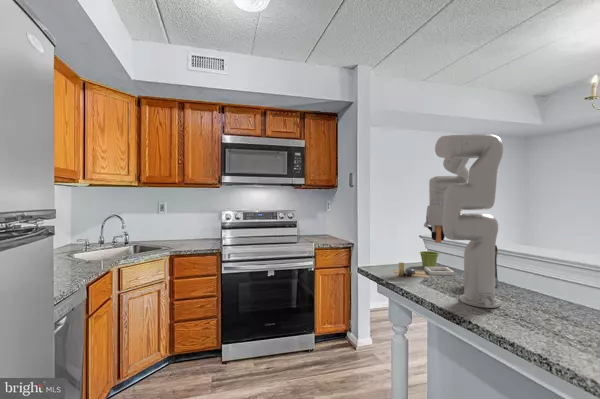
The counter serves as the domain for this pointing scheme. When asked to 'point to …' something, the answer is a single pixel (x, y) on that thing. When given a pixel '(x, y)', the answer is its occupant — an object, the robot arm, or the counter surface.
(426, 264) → the plant pot
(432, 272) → the tray
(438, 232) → the pin
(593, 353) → the counter surface
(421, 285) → the counter surface
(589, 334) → the counter surface
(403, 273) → the crank
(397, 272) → the crank base
